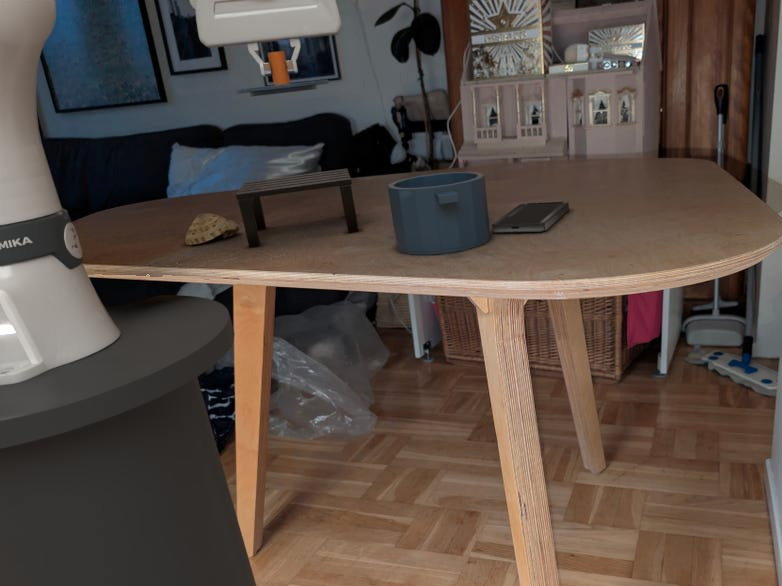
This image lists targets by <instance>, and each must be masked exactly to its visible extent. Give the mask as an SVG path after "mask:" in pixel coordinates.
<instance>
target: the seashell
mask: <svg viewBox="0 0 782 586" xmlns="http://www.w3.org/2000/svg"><path fill="white" fill-rule="evenodd" d="M241 228H242V227H240V225H239V224H238V223H236V222H234V221H233V220H230V219H226V218H225V217H224V216H222V215H218V214H214V213H208V212H200V213H199V214H198V215H197V216H196V217H195V218H194V219H193V221H192V222H191V225H190V226H189V228H188V231H187V233H186V235H185V238H184V240H185V245H187V246H192V245H199V244H202V243H206V242H209V241H211V240H214V239H215V238H217V237H219V236H221V237H222V239H226V238H227V237H231V236H234V235H235V234H236V233H238V232H239V231H240V230H241Z"/></svg>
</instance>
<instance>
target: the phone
mask: <svg viewBox="0 0 782 586" xmlns="http://www.w3.org/2000/svg"><path fill="white" fill-rule="evenodd" d="M569 210H570V205H569V201H552V202H551V201H550V202H549V201H548V202H526V203H525V202H524V203H520V204H519V205H517V206H515V207H514V208H513V209H511V210H509V211H508V212H506V213H505V214H503V215H502V216H501V217H499V218H498V219H496V220H495V221H493V222H492V223H491V228H492V233H495V234H505V233H506V234H507V233H540V232H545V231H547V230H548V229H550V228H551V227H552V226H553V225H554V224H556V222H557V221H559V220H560V219H561V218H562V217H563V216H565V214H566V213H568V212H569Z"/></svg>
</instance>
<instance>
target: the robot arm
mask: <svg viewBox="0 0 782 586" xmlns="http://www.w3.org/2000/svg"><path fill="white" fill-rule="evenodd" d="M188 2H189V5H190V7H192V9H193V10H194V11H195V21H196V28H197V35H198V38H199V41H200V43H201V44H203V45H204V46H205V47H206V48H210V49H211V48H223V47H231V46H239V45H247V49H248V53H249V54H250V55H251V56H252V58H253V59H254V60H255V61H256V63H257V64H258V65H259V68H260V73H261V77H262V78H264V77H272V72H271V67H270V62H264V61H263V59H262V58H261V57H260V55H259V54H258V53H257V52H260V46H259V44H260V43H262V44H263V43H270V42H281V41H289V43H290V47H291V48H294V49H293V53H292V55H291V59H290V60H286V65H287V70H288V74H289V75H291V74H298V73H299V68H298V63H297V60H298V57H299V54H300V52H301V48H302V46H301V45H302V44H301V40H300V39H310V38H319V37H329V36H337V35H339V34H340V32H341V31H342V25H343V24H342V21H341V16H340V11H339V7H338V3H337V0H188ZM56 20H57V0H0V385H8V384H15V383H19V382H23V381H25V380H28V379H30V378H33V377H35V376H37V375H39V374H41V373H44V372H46V371H48V370H50V369H53V368H56V367H58V366H61V365H64V364H67V363H70V362H73V361H76V360H79V359H81V358H84V357H86V356H89V355H91V354H93V353H95V352H98V351H100V350H102V349H103V348H105V347H107V346H109V345H110V344H112V343H113V342H114V341H116V340H117V339H118V338H119V336H120V334H121V332H120V330H119V329H118V327H117V326H116V325H115V323H114V322H113V320H112V319H111V317H110V316H109V314H108V313H107V311H106V309H105V308H104V306H103V304H102V303H101V301H102V300H101V299H100V297H99V295H98V293H97V291H96V289H95V287H94V286H93V283H92V281H91V279H90V277H89V274H88V272H87V271H86V268H85V265H84V263H83V262H84V256H83V249H82V246H81V242H80V239H79V236H78V233H77V230H76V227H75V225H74V224H73V222H72V219H71V217H70V214H69V211H68V210H67V209H65V208H63V207H62V205H61V201H60V198H59V194H58V192H57V189H56V184H55V182H54V179H53V176H52V173H51V169H50V166H49V163H48V159H47V156H46V153H45V149H44V146H43V145H44V144H43V143H42V137H41V133H40V128H39V120H38V109H37V87H38V69H39V62H40V57H41V55H42V51H43V50H44V49H43V48H44V46H45V45H46V42H47V41H48V38H49V37H50V35H51V33H52V32H53V30H54V27H55V24H56V22H57V21H56Z"/></svg>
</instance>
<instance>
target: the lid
mask: <svg viewBox="0 0 782 586" xmlns="http://www.w3.org/2000/svg"><path fill="white" fill-rule="evenodd" d="M267 57H268V63H270V67H271V69H270V70H271V72H272V76H271V77H272V82H273V85H267V86H257V87H248V88H241V89H235V93H236V95H237V94H247V93H249V96H250V97H259V96H268V95H277V94H286V93H294V92H303V91H311V90H317V85H327V84H329V80H328V79H323V80H311V81H302V82H292V83H291V79H290V78H291V77H290V74H288V70H287V68H288V67H287V65H286V61H287V59H286V58H287V57H286V53H285V51H283V50H281V51H271V52H268V53H267Z"/></svg>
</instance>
